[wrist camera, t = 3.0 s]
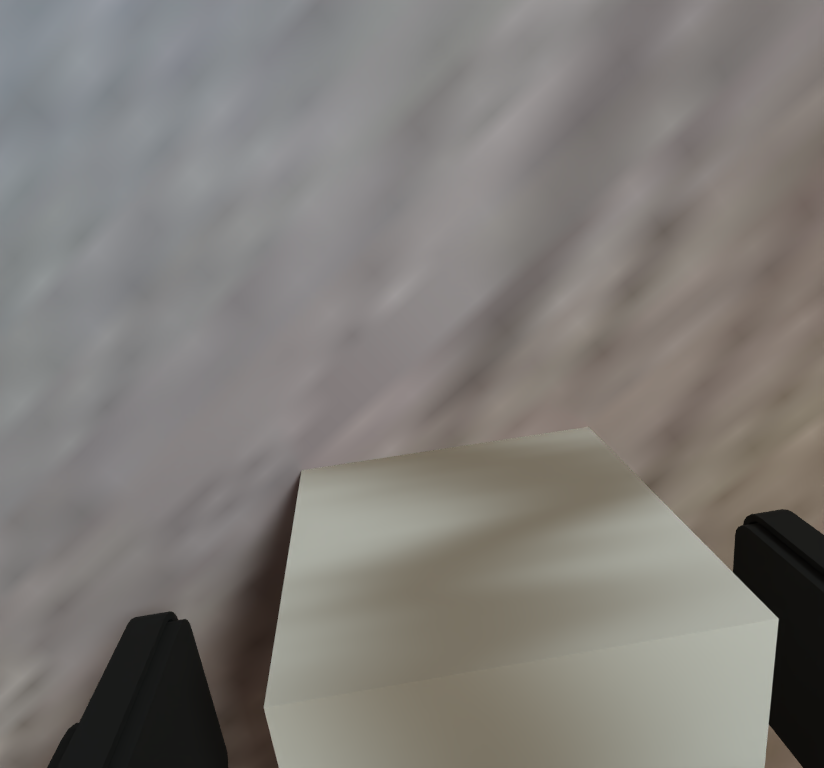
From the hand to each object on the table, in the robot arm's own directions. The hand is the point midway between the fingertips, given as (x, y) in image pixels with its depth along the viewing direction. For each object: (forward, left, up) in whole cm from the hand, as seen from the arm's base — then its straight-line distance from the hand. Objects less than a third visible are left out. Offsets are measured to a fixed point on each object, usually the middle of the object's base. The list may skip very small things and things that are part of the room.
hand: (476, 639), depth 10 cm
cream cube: (0, 0, -2) cm, 2 cm away
